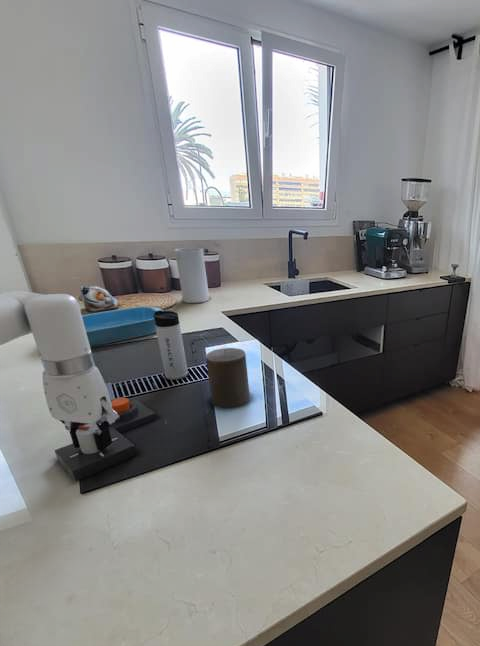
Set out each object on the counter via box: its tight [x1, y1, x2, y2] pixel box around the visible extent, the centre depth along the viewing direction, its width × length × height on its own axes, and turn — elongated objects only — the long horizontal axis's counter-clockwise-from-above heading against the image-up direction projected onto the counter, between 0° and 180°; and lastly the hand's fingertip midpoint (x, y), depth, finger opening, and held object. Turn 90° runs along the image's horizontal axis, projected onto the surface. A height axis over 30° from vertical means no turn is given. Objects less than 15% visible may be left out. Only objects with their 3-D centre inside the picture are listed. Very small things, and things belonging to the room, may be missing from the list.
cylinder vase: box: [174, 247, 210, 304], centre depth 194 cm, size 12×12×25 cm
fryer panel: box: [54, 428, 137, 482], centre depth 80 cm, size 11×10×3 cm
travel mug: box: [154, 309, 189, 381], centre depth 113 cm, size 6×7×20 cm
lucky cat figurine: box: [79, 285, 120, 313], centre depth 177 cm, size 15×12×14 cm
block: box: [98, 399, 157, 434], centre depth 93 cm, size 11×10×4 cm
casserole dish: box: [81, 306, 164, 348], centre depth 148 cm, size 37×22×7 cm, turn 134°
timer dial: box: [76, 423, 101, 454], centre depth 78 cm, size 4×4×5 cm
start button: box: [111, 397, 130, 413], centre depth 92 cm, size 4×4×2 cm
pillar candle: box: [205, 347, 251, 409], centre depth 101 cm, size 10×10×15 cm
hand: (93, 444), depth 79 cm, fingers closed on timer dial, 4 cm apart
